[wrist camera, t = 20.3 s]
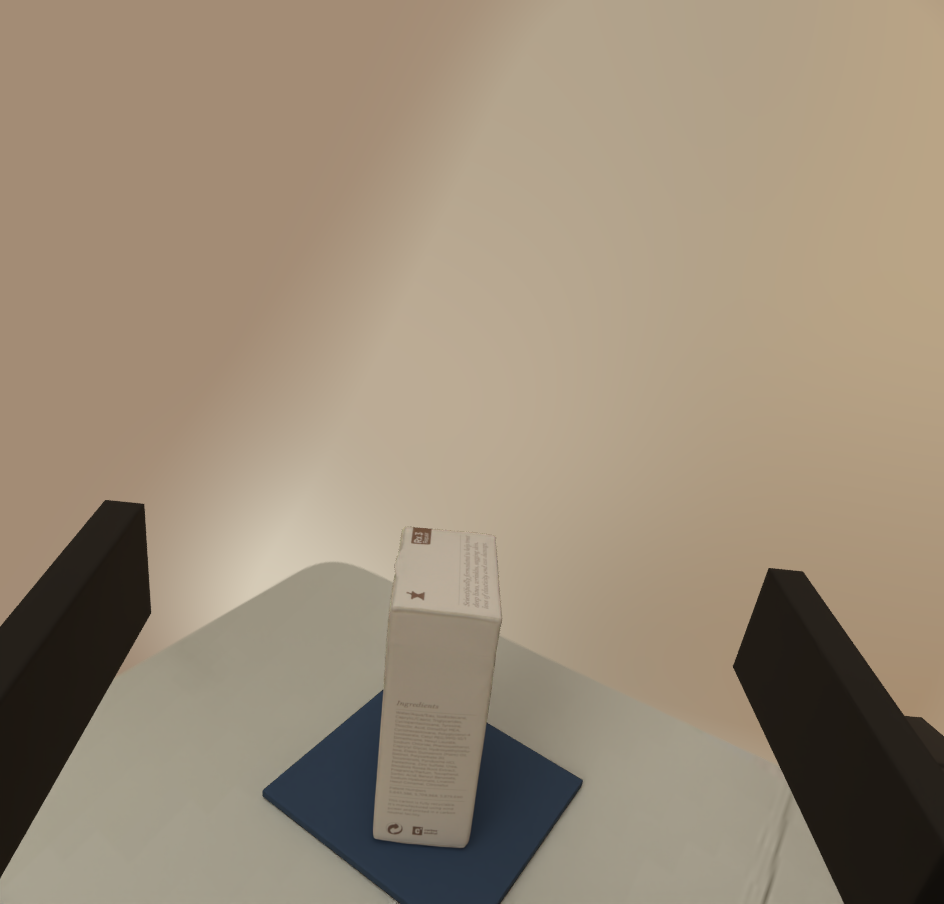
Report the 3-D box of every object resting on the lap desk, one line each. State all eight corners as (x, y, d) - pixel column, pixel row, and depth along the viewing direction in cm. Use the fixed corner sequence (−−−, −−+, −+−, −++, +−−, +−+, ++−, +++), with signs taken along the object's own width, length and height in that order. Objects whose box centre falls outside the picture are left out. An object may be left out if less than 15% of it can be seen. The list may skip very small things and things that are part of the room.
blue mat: (262, 796, 34) (262, 790, 34) (402, 677, 42) (403, 672, 42) (464, 954, 29) (466, 947, 29) (581, 785, 37) (583, 780, 36)
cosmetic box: (471, 851, 32) (513, 623, 27) (365, 843, 32) (387, 610, 27) (470, 739, 38) (506, 531, 33) (380, 731, 38) (401, 520, 32)
